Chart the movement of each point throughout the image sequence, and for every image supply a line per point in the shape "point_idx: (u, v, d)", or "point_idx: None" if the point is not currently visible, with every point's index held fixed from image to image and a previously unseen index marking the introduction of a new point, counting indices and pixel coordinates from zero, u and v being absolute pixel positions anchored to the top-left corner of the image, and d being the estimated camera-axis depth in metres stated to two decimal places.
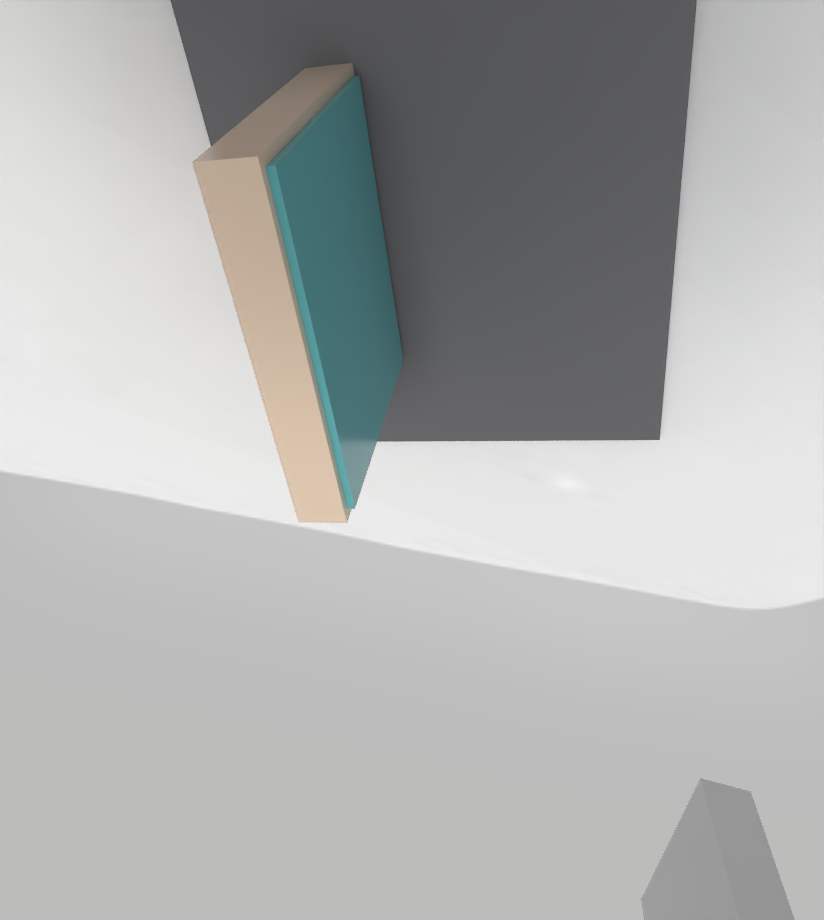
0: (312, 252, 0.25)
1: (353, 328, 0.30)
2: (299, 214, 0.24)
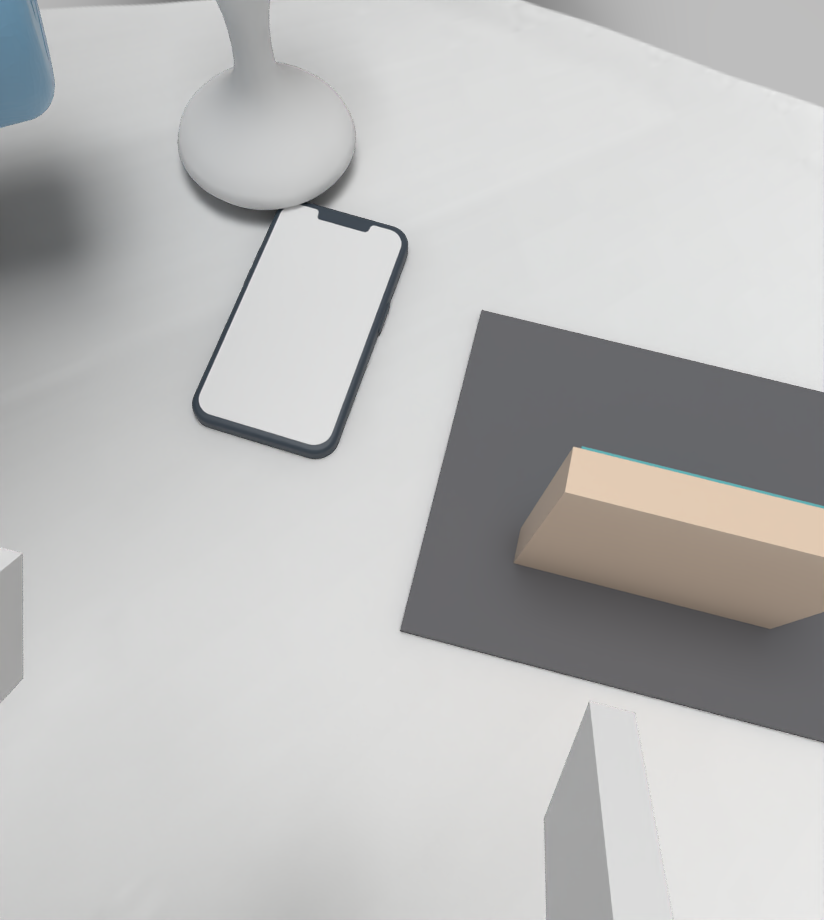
0: None
1: None
2: None
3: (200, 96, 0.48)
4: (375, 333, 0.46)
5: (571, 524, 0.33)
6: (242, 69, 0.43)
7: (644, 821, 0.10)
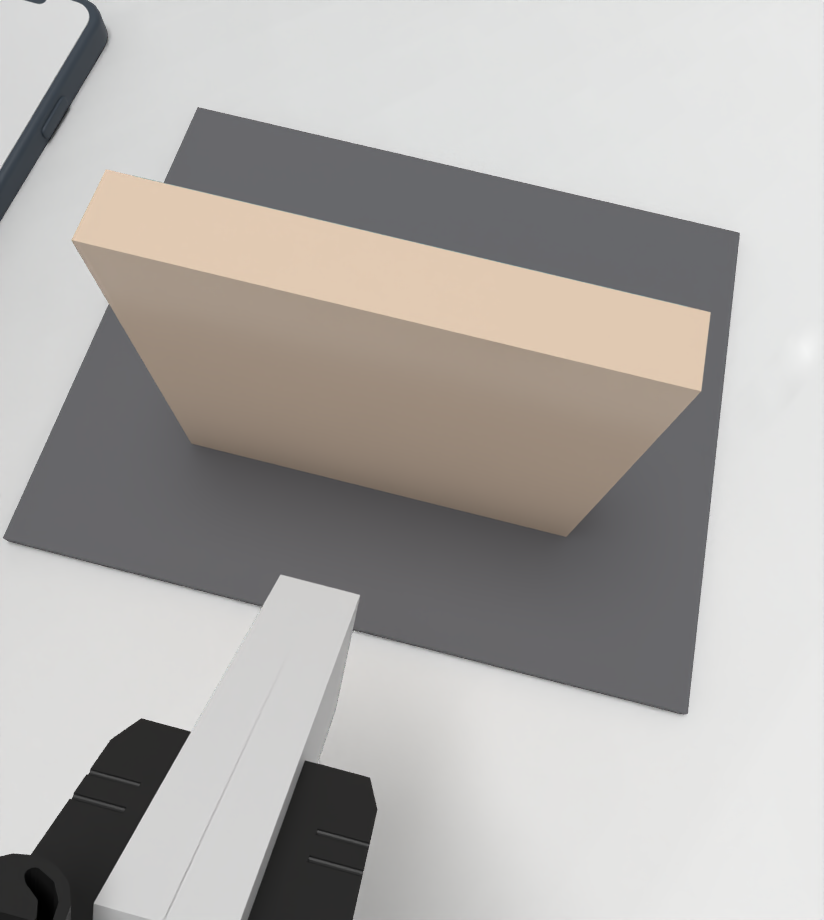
0: None
1: None
2: None
3: None
4: (34, 134, 0.32)
5: (162, 335, 0.20)
6: None
7: (321, 670, 0.12)
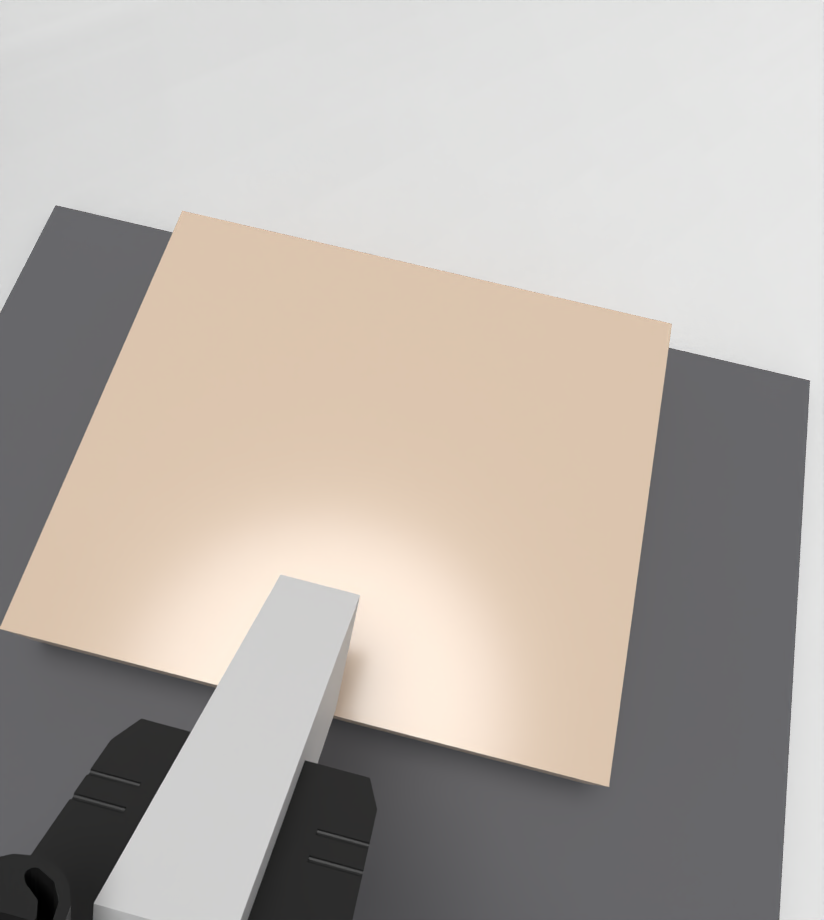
0: None
1: None
2: None
3: None
4: None
5: (176, 327, 0.20)
6: None
7: (320, 670, 0.12)
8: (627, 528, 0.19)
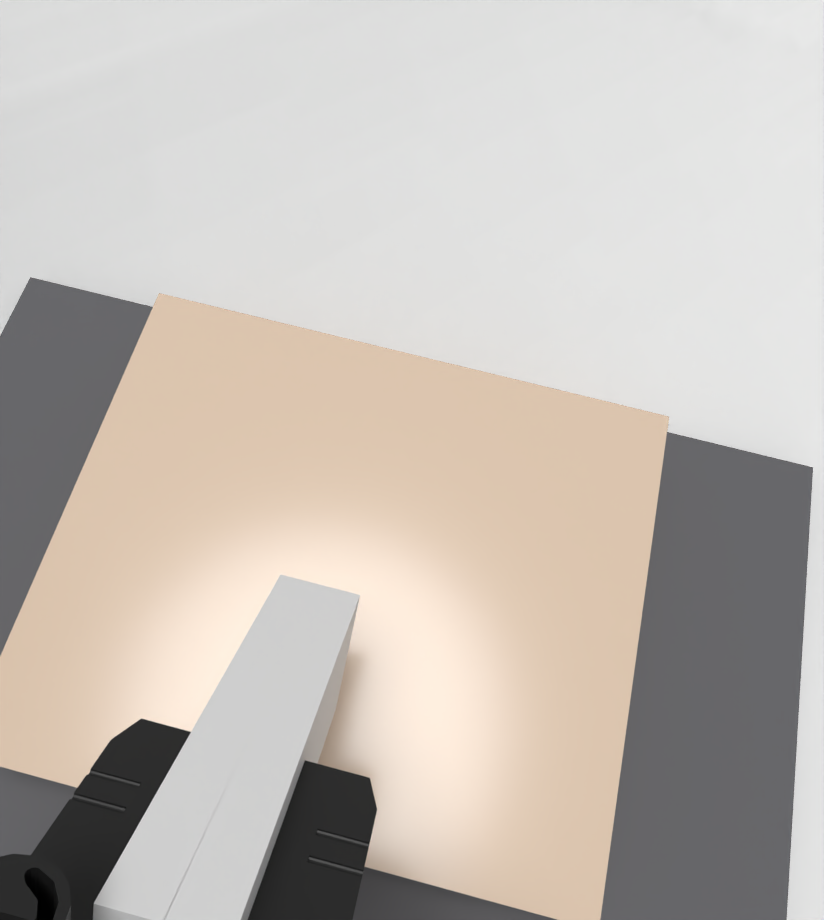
0: None
1: None
2: None
3: None
4: None
5: (150, 421, 0.19)
6: None
7: (320, 670, 0.12)
8: (620, 642, 0.18)
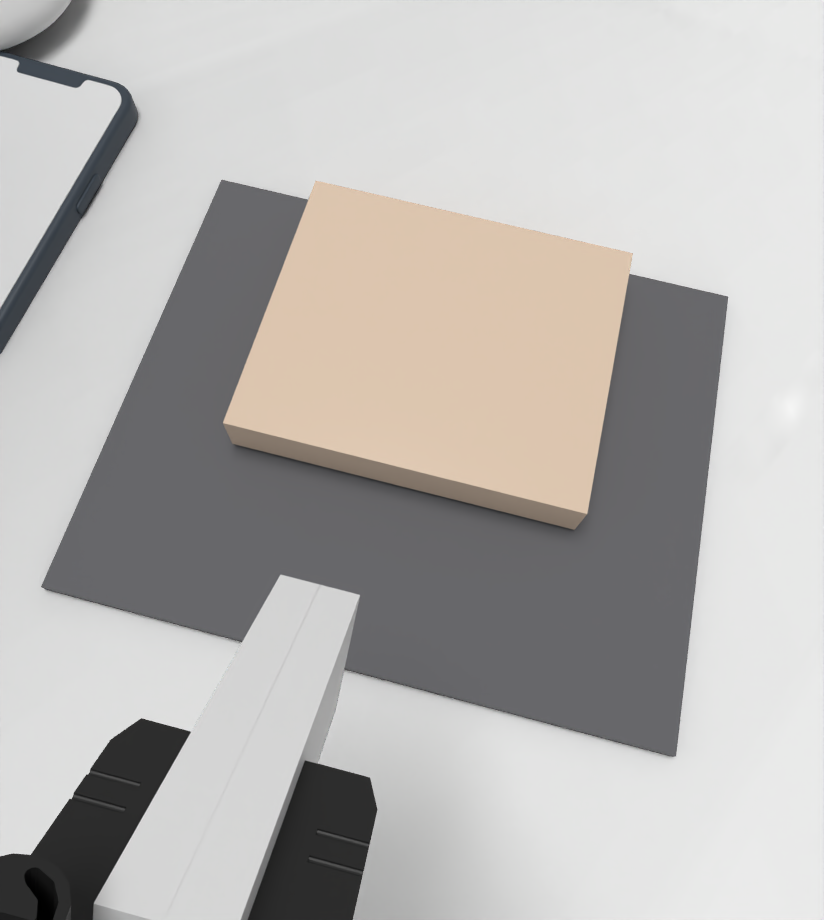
0: None
1: None
2: None
3: None
4: (69, 210, 0.34)
5: (316, 252, 0.32)
6: None
7: (321, 670, 0.12)
8: (601, 373, 0.30)
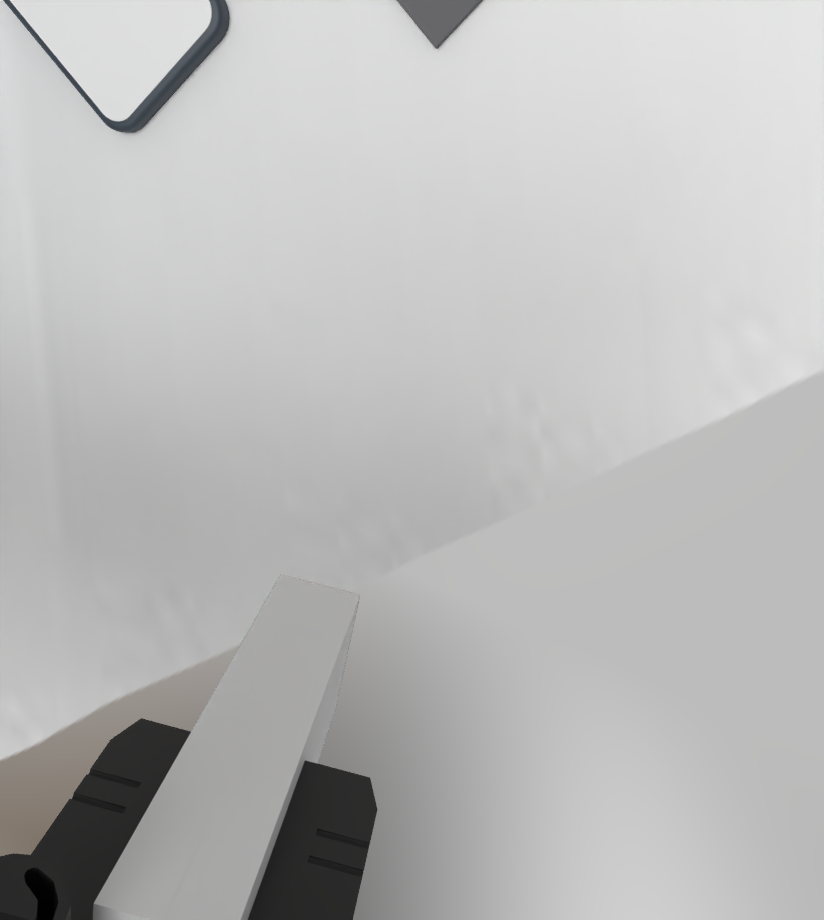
0: None
1: None
2: None
3: None
4: None
5: None
6: None
7: (320, 670, 0.12)
8: None
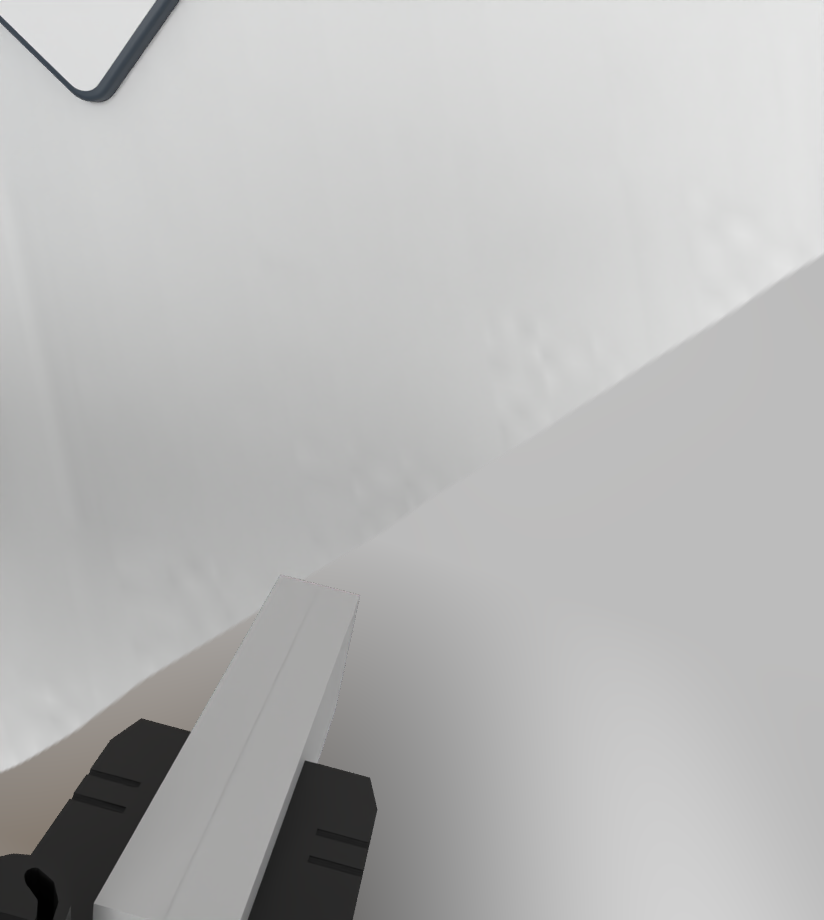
0: None
1: None
2: None
3: None
4: None
5: None
6: None
7: (320, 670, 0.12)
8: None
